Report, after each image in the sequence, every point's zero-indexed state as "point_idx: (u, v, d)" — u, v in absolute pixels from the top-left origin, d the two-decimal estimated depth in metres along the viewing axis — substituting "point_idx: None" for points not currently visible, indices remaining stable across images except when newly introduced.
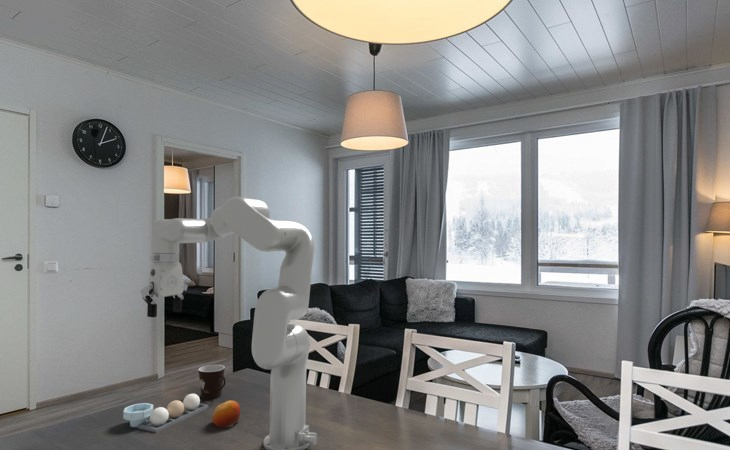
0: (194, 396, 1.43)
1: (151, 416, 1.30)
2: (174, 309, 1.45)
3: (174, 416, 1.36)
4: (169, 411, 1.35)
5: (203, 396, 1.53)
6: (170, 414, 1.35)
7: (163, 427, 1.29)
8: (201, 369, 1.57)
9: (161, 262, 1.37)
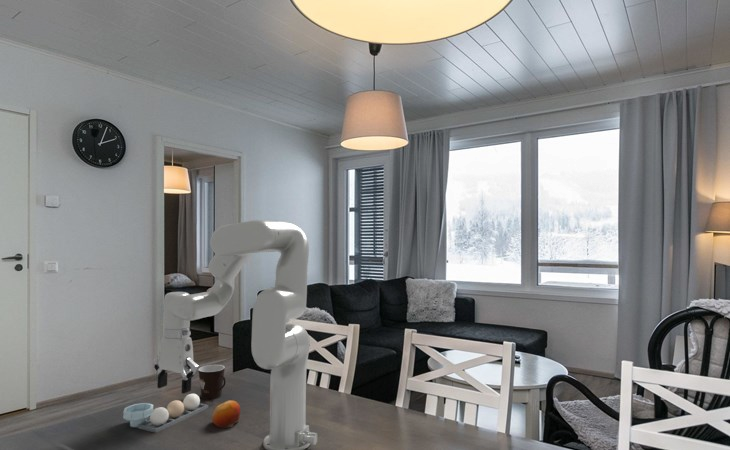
0: (194, 396, 1.43)
1: (151, 416, 1.30)
2: (161, 384, 1.39)
3: (174, 416, 1.36)
4: (169, 411, 1.35)
5: (203, 396, 1.53)
6: (170, 414, 1.35)
7: (163, 427, 1.29)
8: (201, 369, 1.57)
9: (188, 336, 1.38)
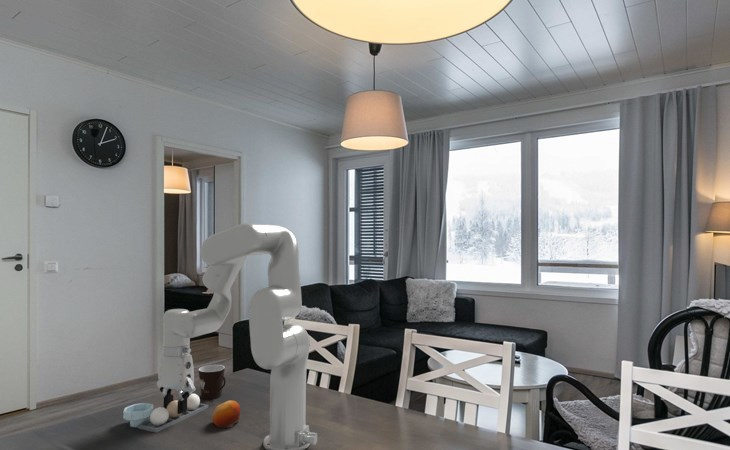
0: (194, 396, 1.43)
1: (151, 416, 1.30)
2: None
3: (174, 416, 1.36)
4: (169, 411, 1.35)
5: (203, 396, 1.53)
6: (170, 414, 1.35)
7: (163, 427, 1.29)
8: (201, 369, 1.57)
9: (188, 353, 1.38)
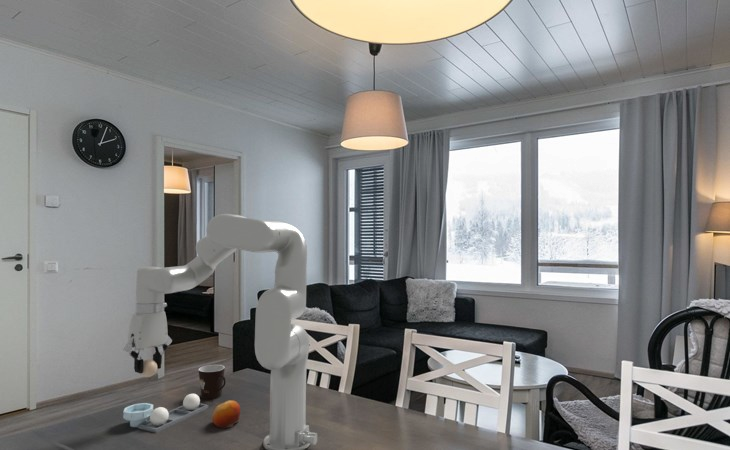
0: (194, 396, 1.43)
1: (151, 416, 1.30)
2: None
3: (154, 373, 1.34)
4: (153, 368, 1.33)
5: (203, 396, 1.53)
6: (154, 371, 1.33)
7: (163, 427, 1.29)
8: (201, 369, 1.57)
9: None
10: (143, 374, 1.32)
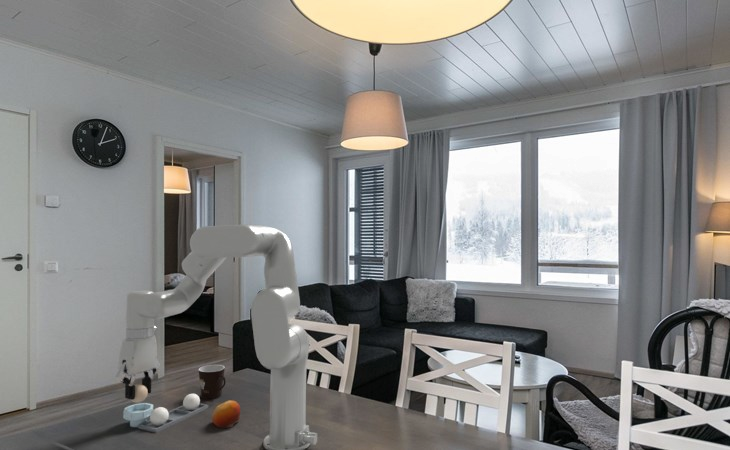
0: (194, 396, 1.43)
1: (151, 416, 1.30)
2: None
3: None
4: (145, 394, 1.32)
5: (203, 396, 1.53)
6: (145, 396, 1.32)
7: (163, 427, 1.29)
8: (201, 369, 1.57)
9: None
10: (134, 400, 1.31)
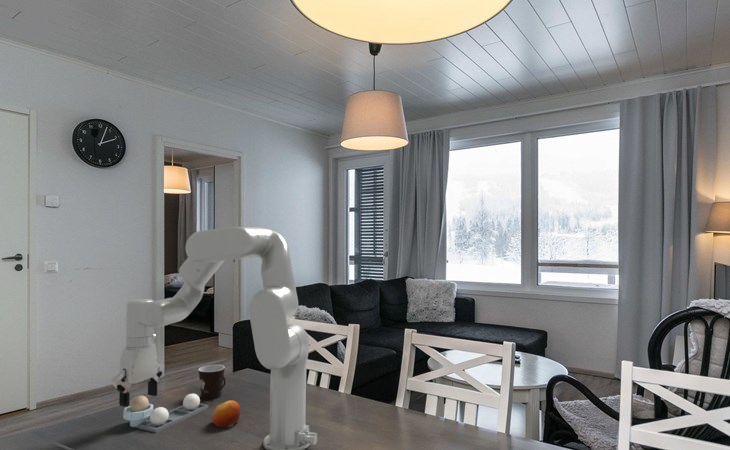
0: (194, 396, 1.43)
1: (151, 416, 1.30)
2: None
3: None
4: (146, 404, 1.32)
5: (203, 396, 1.53)
6: (146, 407, 1.32)
7: (163, 427, 1.29)
8: (201, 369, 1.57)
9: None
10: (135, 410, 1.31)
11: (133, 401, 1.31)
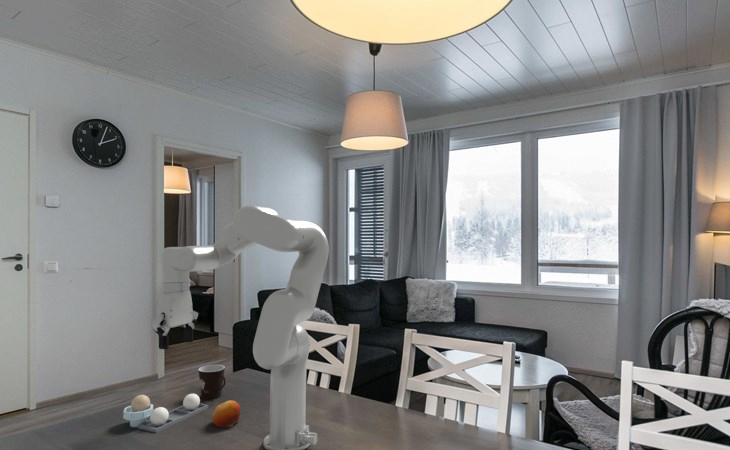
0: (194, 396, 1.43)
1: (151, 416, 1.30)
2: None
3: (146, 409, 1.33)
4: (147, 404, 1.32)
5: (203, 396, 1.53)
6: (147, 407, 1.33)
7: (163, 427, 1.29)
8: (201, 369, 1.57)
9: None
10: (136, 409, 1.31)
11: (135, 399, 1.32)
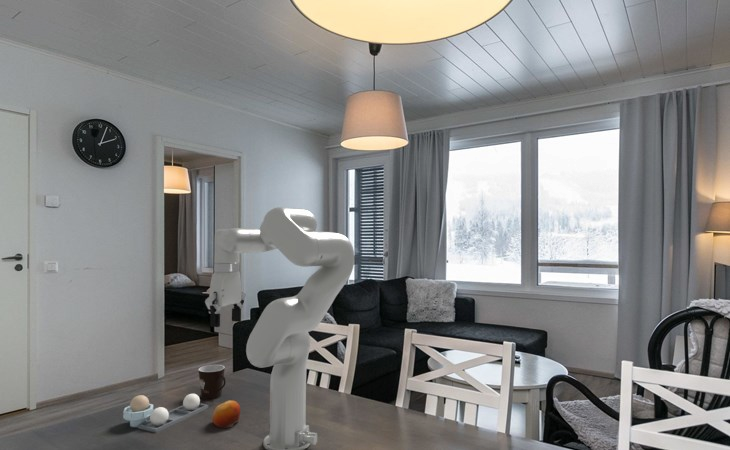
0: (194, 396, 1.43)
1: (151, 416, 1.30)
2: None
3: None
4: (146, 404, 1.32)
5: (203, 396, 1.53)
6: (146, 407, 1.32)
7: (163, 427, 1.29)
8: (201, 369, 1.57)
9: None
10: (135, 410, 1.31)
11: (133, 401, 1.31)
